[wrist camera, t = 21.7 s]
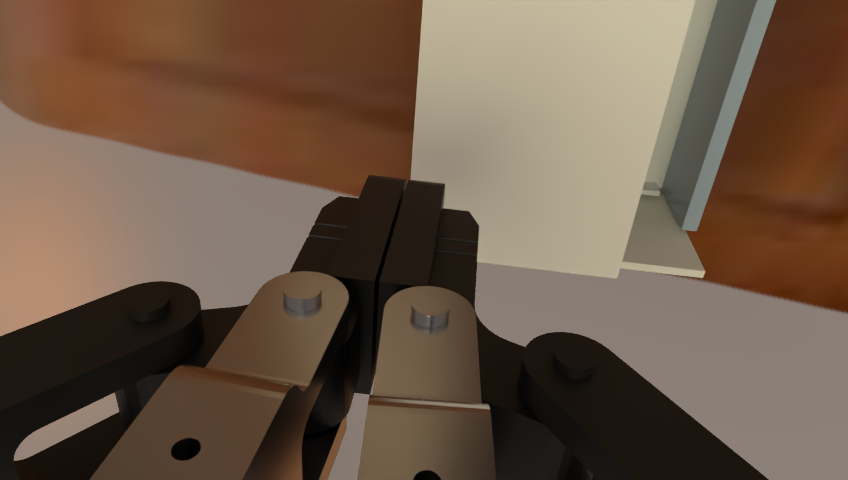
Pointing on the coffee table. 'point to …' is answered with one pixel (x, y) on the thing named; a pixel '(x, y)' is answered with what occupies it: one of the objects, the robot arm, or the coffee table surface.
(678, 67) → the tray
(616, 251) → the beige shelf
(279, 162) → the coffee table surface
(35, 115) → the coffee table surface
